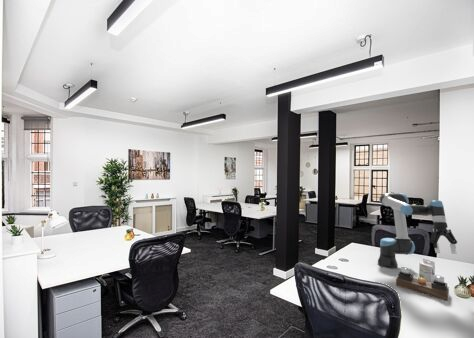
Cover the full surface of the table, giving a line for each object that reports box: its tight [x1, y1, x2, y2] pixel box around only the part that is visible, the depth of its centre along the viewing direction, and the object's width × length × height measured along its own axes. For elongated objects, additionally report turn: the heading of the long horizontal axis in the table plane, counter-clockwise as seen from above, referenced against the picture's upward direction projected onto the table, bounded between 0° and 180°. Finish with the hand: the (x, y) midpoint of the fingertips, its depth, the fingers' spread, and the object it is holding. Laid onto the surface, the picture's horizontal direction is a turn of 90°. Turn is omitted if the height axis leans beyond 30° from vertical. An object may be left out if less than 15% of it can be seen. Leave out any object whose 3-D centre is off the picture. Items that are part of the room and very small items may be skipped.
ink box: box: [418, 258, 436, 283], centre depth 188 cm, size 9×5×15 cm, turn 23°
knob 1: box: [400, 266, 411, 276], centre depth 176 cm, size 5×5×4 cm
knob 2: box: [435, 274, 445, 284], centre depth 163 cm, size 5×5×4 cm
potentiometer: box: [417, 277, 427, 284], centre depth 170 cm, size 4×4×3 cm
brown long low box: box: [395, 270, 450, 302], centre depth 170 cm, size 12×28×8 cm, turn 45°
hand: (446, 253), depth 168 cm, fingers open, 13 cm apart
